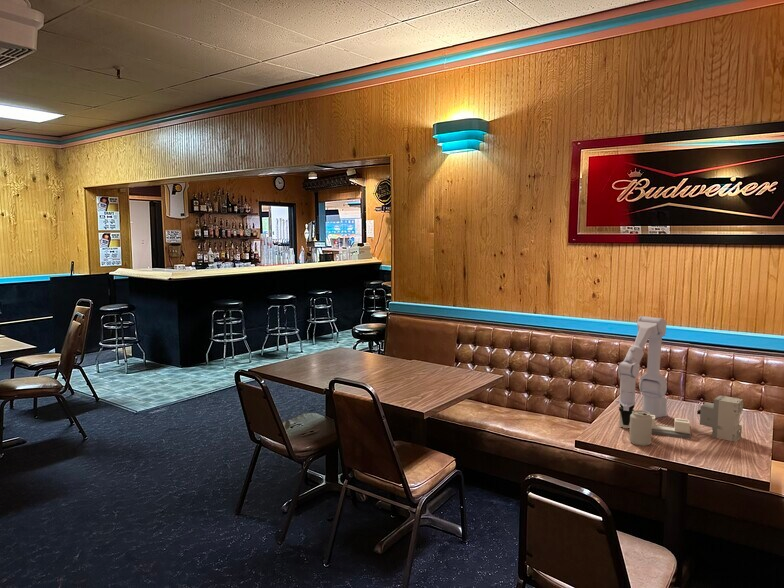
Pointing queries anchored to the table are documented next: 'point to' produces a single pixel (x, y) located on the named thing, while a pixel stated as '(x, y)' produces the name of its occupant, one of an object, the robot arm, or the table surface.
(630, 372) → the robot arm
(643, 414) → the can
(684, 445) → the table surface
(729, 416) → the circuit breaker
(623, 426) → the block
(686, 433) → the rail plate
